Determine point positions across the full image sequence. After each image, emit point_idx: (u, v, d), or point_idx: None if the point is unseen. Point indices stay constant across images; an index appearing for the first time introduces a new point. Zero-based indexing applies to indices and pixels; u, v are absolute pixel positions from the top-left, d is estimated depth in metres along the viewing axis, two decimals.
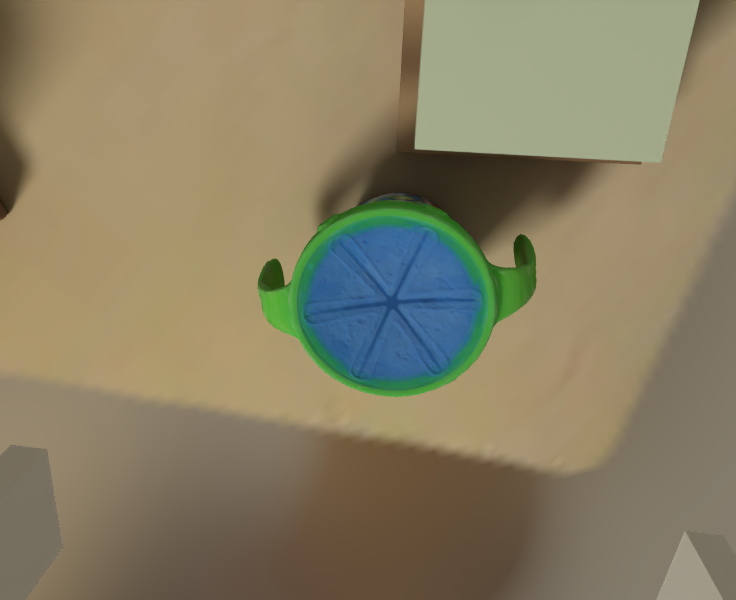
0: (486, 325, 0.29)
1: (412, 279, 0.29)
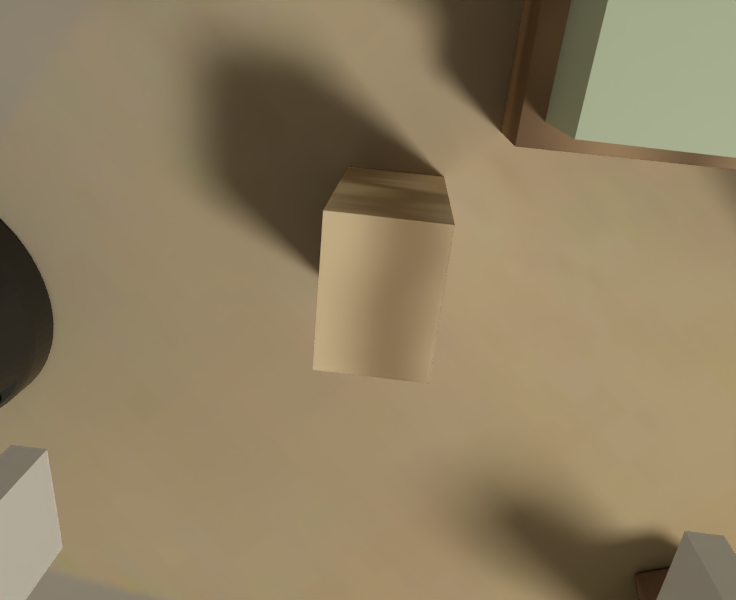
0: None
1: None
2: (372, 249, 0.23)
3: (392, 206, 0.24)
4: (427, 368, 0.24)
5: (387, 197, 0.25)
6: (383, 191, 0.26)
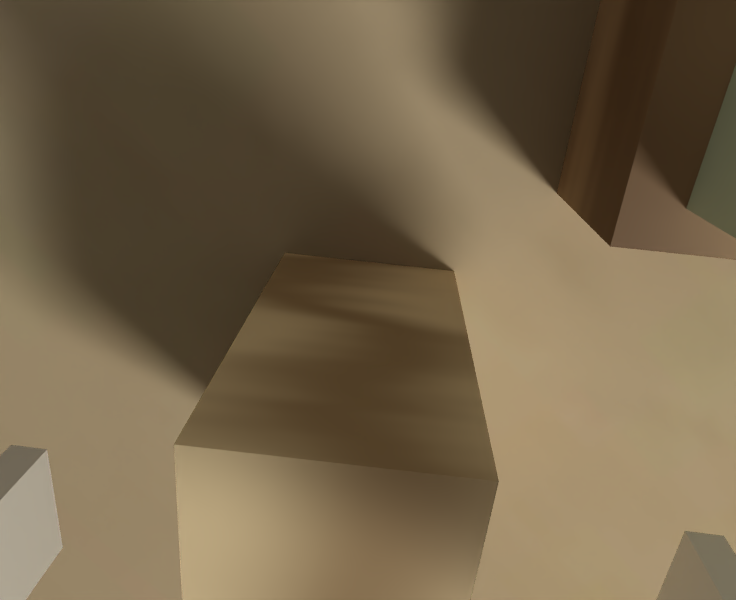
0: None
1: None
2: (300, 524, 0.09)
3: (350, 400, 0.10)
4: None
5: (343, 359, 0.12)
6: (338, 334, 0.13)
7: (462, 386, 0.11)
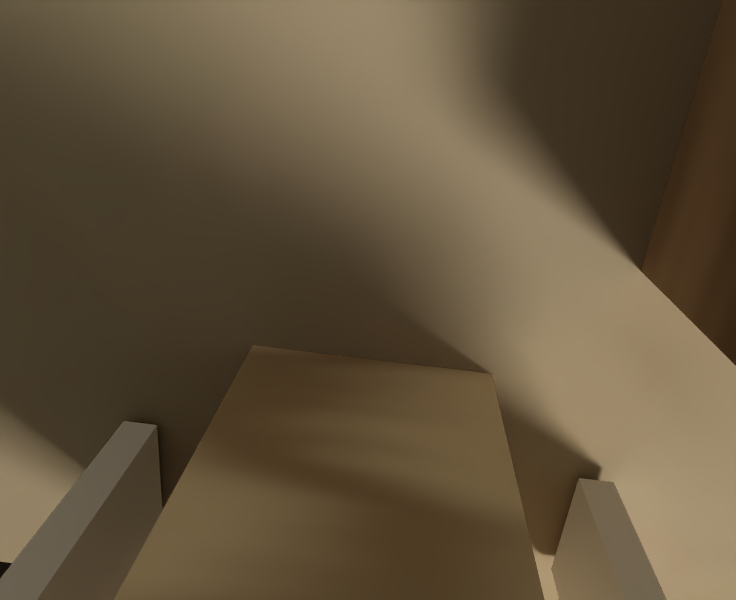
0: None
1: None
2: None
3: None
4: None
5: None
6: (316, 532, 0.08)
7: None
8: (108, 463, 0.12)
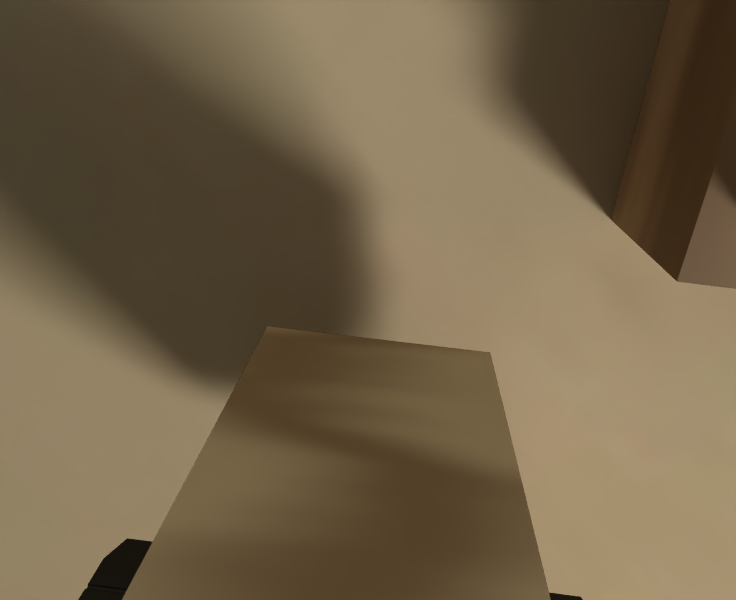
0: None
1: None
2: None
3: None
4: None
5: (338, 540, 0.08)
6: (331, 485, 0.09)
7: None
8: None
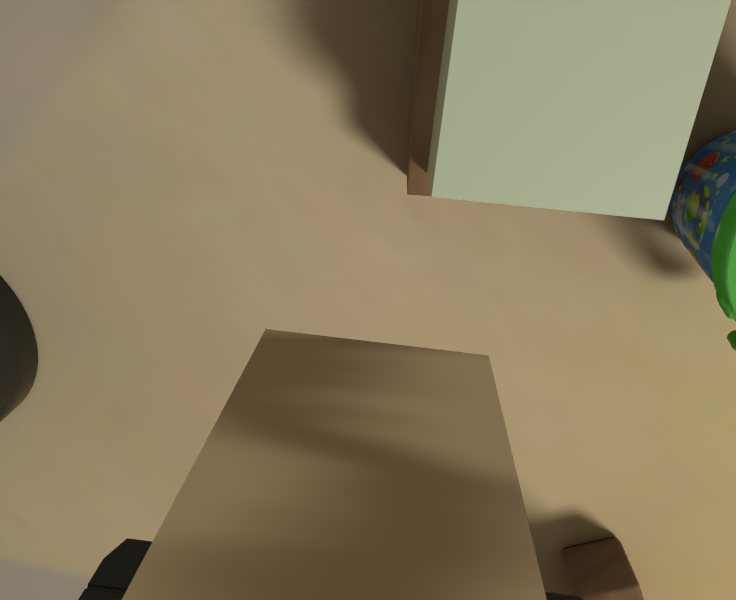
0: None
1: None
2: None
3: None
4: None
5: (335, 546, 0.08)
6: (329, 489, 0.09)
7: None
8: None
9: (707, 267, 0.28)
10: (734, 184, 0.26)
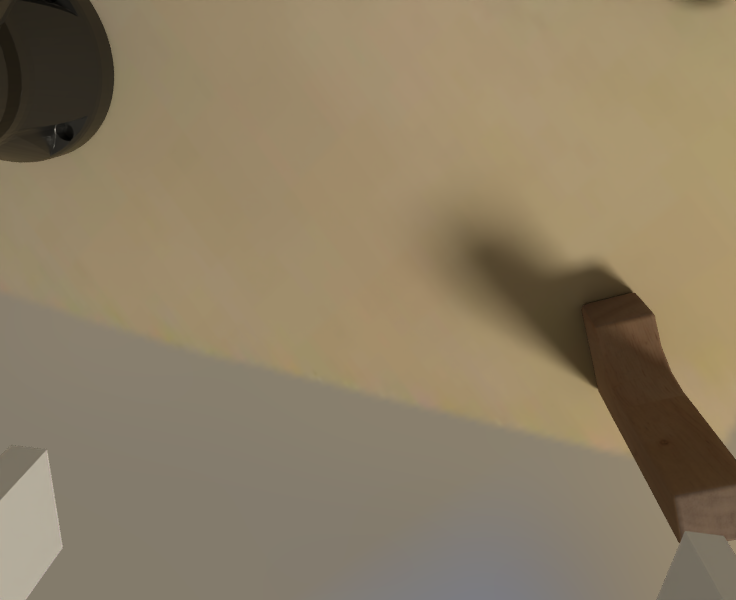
0: None
1: None
2: None
3: None
4: None
5: None
6: None
7: None
8: None
9: None
10: None
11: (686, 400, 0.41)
